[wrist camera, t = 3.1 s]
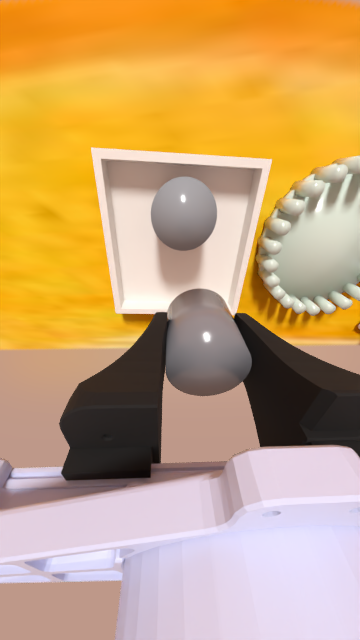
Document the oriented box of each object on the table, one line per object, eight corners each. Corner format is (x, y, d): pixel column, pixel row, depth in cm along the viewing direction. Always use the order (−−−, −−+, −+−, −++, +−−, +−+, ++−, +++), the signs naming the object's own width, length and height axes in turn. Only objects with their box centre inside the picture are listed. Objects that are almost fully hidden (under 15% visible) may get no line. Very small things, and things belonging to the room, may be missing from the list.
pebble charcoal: (240, 303, 13) (270, 352, 9) (208, 347, 15) (221, 403, 11) (184, 277, 12) (191, 322, 8) (156, 328, 14) (152, 383, 10)
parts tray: (259, 162, 15) (272, 159, 13) (230, 303, 22) (235, 315, 20) (100, 152, 14) (90, 147, 13) (120, 302, 21) (116, 313, 19)
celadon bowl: (435, 161, 16) (479, 158, 13) (352, 303, 22) (372, 316, 20) (279, 151, 15) (298, 145, 13) (242, 301, 22) (250, 314, 20)
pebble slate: (215, 195, 16) (230, 199, 12) (190, 244, 18) (196, 260, 14) (168, 166, 14) (168, 160, 11) (147, 221, 16) (140, 233, 13)
